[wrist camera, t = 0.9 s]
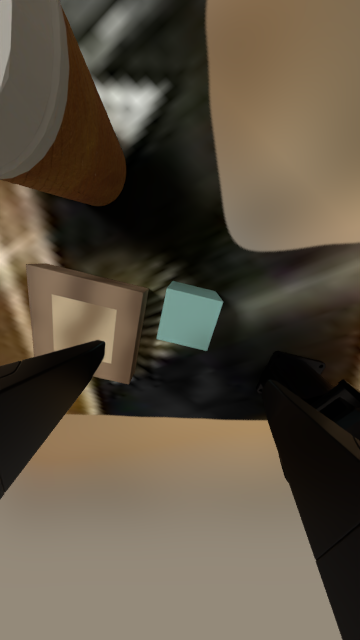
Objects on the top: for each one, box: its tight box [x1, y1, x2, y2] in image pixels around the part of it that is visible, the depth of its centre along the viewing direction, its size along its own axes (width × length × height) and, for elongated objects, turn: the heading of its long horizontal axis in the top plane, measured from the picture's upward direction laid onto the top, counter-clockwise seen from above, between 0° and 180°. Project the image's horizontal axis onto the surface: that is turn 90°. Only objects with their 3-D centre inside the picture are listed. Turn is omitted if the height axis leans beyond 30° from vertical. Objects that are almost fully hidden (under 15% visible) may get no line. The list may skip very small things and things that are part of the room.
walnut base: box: [26, 264, 149, 384], centre depth 20 cm, size 12×12×2 cm
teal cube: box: [157, 281, 223, 351], centre depth 18 cm, size 5×5×5 cm
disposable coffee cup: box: [0, 0, 126, 206], centre depth 10 cm, size 10×10×12 cm
